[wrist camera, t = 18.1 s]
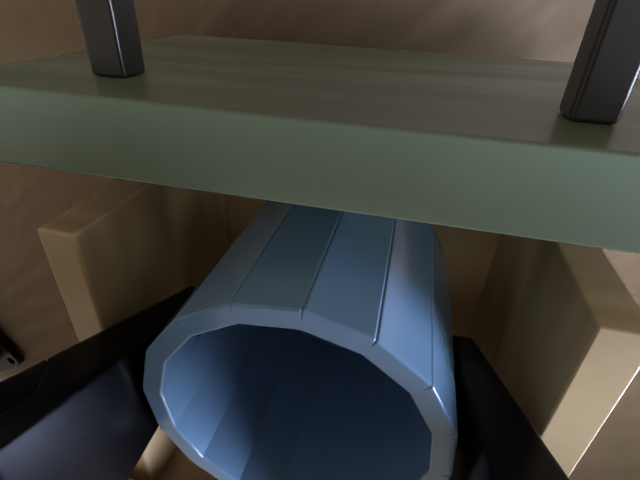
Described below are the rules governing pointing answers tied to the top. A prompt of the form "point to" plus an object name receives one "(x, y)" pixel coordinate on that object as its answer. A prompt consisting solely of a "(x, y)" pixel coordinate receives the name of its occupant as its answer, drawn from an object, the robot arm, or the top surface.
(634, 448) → the top surface
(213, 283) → the cup
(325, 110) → the drawer
